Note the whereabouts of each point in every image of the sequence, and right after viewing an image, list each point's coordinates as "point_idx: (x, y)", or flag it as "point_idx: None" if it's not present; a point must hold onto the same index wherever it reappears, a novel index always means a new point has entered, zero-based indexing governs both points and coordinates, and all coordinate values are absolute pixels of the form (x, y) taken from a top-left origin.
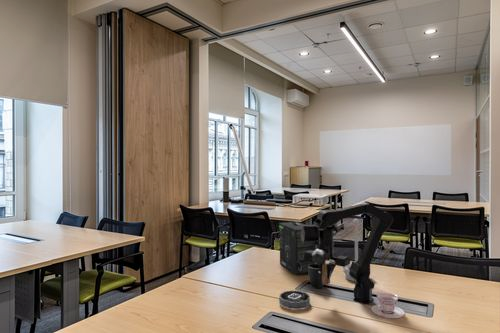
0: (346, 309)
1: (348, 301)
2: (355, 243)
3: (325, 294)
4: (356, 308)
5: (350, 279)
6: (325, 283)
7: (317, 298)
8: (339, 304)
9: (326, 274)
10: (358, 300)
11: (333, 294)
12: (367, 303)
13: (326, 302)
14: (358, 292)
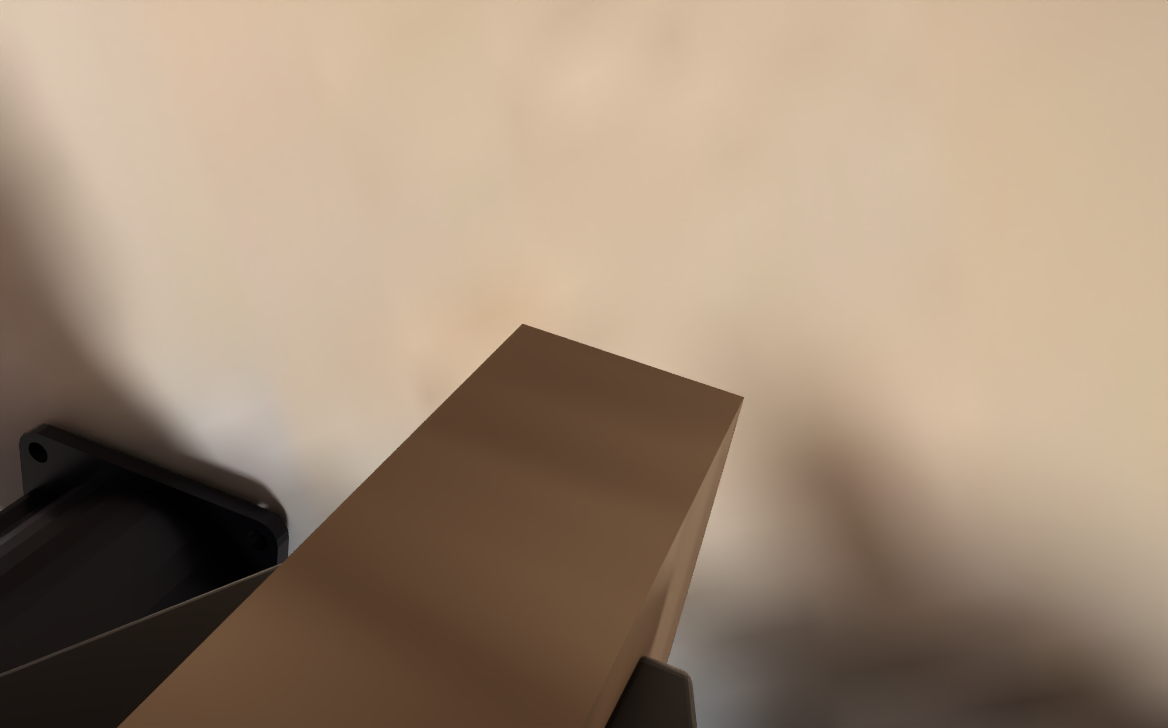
0: (252, 20)
1: (352, 454)
2: None
3: (890, 699)
4: (121, 164)
5: None
6: (560, 371)
7: (1058, 428)
8: (460, 241)
9: (218, 637)
10: (182, 495)
11: (715, 724)
12: (39, 426)
13: (768, 249)
14: (81, 608)
